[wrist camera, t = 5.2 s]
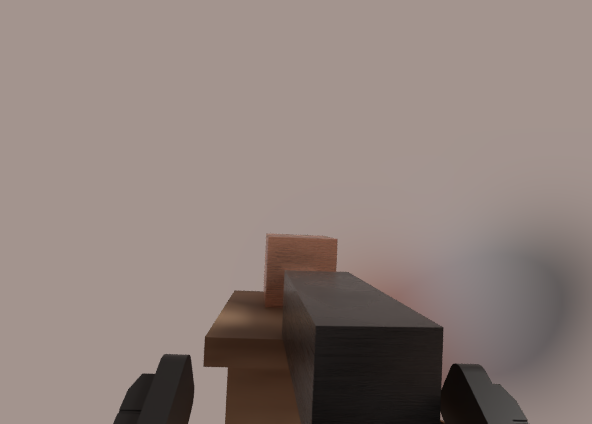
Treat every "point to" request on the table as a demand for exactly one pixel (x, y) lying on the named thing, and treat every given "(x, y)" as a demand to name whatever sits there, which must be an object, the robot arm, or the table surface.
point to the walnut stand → (252, 361)
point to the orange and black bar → (350, 340)
